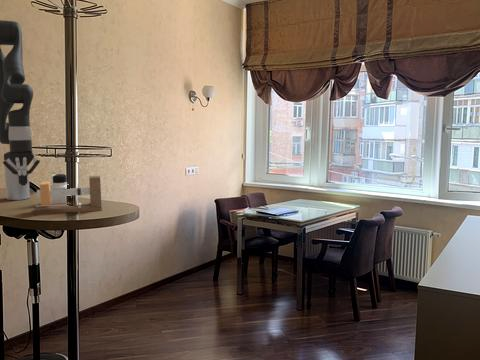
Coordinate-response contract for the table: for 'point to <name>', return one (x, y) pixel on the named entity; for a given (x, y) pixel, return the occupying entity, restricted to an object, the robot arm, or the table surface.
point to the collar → (45, 193)
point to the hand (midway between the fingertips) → (23, 185)
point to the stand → (92, 206)
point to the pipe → (67, 192)
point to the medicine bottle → (58, 187)
